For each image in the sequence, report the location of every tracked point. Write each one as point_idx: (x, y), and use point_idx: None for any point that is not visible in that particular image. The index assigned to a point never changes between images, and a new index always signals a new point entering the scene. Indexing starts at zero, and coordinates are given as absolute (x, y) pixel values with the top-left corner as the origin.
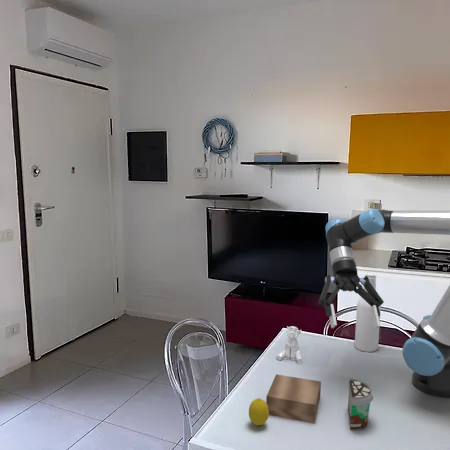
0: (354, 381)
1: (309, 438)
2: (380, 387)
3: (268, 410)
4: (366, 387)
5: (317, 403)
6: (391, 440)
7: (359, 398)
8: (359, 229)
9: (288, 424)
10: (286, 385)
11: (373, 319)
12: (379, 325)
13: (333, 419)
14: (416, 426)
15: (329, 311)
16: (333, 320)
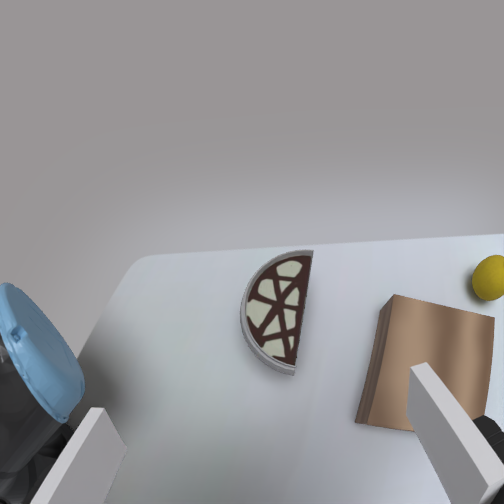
0: (281, 356)
1: (391, 259)
2: (169, 480)
3: (480, 273)
4: (251, 324)
5: (378, 348)
6: (228, 264)
7: (293, 252)
8: None
9: (430, 300)
10: (459, 379)
11: (102, 476)
12: (95, 408)
13: (336, 330)
14: (155, 312)
15: (486, 437)
16: (440, 380)
